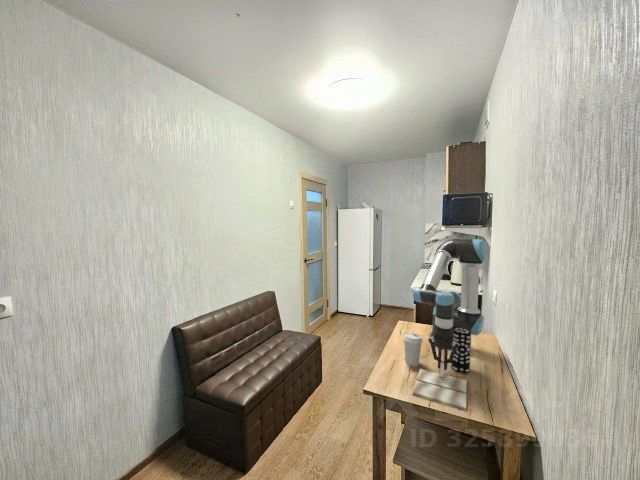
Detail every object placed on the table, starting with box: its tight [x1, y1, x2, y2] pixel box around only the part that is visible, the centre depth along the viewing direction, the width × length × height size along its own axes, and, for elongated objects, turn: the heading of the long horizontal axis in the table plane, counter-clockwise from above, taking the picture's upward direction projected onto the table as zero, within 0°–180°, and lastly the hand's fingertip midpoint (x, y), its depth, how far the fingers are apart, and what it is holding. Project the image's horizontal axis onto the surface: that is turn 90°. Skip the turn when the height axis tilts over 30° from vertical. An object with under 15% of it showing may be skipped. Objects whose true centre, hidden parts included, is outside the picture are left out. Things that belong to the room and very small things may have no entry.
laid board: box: [412, 380, 467, 412], centre depth 114 cm, size 20×10×1 cm, turn 61°
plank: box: [416, 368, 468, 395], centre depth 123 cm, size 20×9×1 cm, turn 61°
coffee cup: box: [402, 332, 424, 367], centre depth 140 cm, size 10×10×15 cm
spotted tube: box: [450, 327, 472, 374], centre depth 135 cm, size 8×8×20 cm
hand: (442, 375), depth 125 cm, fingers closed
